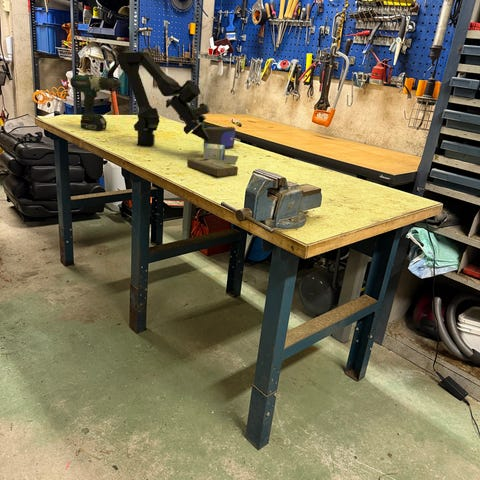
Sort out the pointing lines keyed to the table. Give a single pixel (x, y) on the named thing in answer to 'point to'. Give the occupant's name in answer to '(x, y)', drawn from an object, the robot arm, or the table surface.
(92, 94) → the power drill
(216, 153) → the medicine box
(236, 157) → the mat
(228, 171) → the box
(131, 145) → the table surface
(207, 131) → the leaning round-cornered charcoal block
